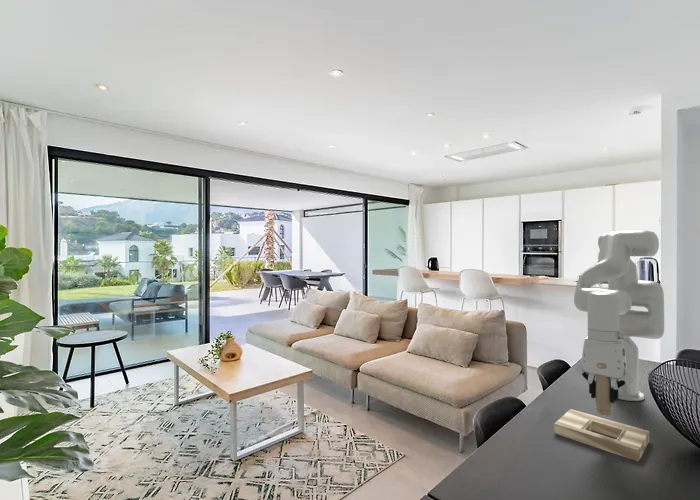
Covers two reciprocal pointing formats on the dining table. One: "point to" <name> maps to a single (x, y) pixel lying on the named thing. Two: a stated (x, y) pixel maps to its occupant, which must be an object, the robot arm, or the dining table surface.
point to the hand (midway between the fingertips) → (603, 398)
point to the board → (582, 425)
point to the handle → (603, 392)
